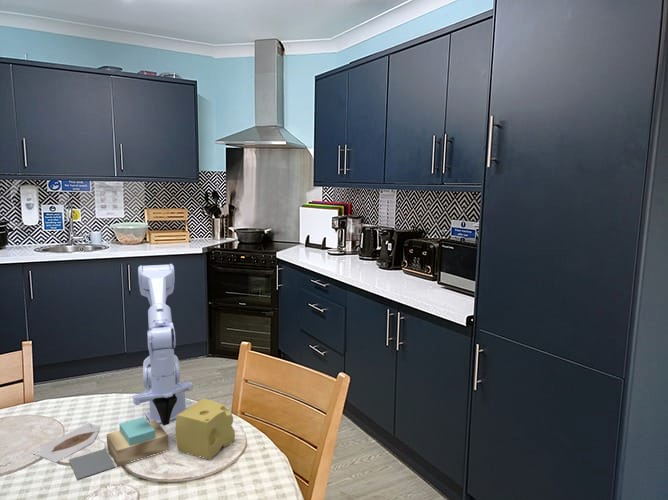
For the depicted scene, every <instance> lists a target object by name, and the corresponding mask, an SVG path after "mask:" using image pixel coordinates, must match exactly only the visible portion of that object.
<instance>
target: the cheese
mask: <svg viewBox="0 0 668 500" xmlns="http://www.w3.org/2000/svg"><path fill="white" fill-rule="evenodd" d="M175 420H176V421H175V439H176V441H175V442H176V446H177V447H176V448H177V451H178V452H180V451H181V452H180V453H183V452H184V453H183V454H186V453H189V454H188V455H190V454H193V455H192V456H194V455H197V456H196V457H198V456H201V457H204V458H206V459H205V460H208V459H209V460H211V459H212V458H213V457H215V456H216V455H215V454H218V453H219V452H220V450H221V448H226V447H228V446H229V445H230V444H231V445H232V443H233V441H235V438H236V434H235V433H236V432H235V431H236V430H235V429H234V428H233V424H234V417H233V413H232V412H230V411H229V410H228V409H227V407H226V406H225V405H224V404H223V403H220V402H218V401H217V402H216V401H215V400H211V399H207V398H201V399H199V400H198V401H196V402H195V403H194V404H193V405H191V406H189V407H188V408H186V410H184V411H183V412H181V413H179V414H177V417H176V419H175ZM201 457H200V458H201ZM211 457H212V458H211ZM204 458H203V459H204ZM210 458H211V459H210Z"/></svg>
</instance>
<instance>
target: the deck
mask: <svg viewBox="0 0 668 500" xmlns="http://www.w3.org/2000/svg"><path fill="white" fill-rule="evenodd" d="M148 423H149V424H150V425H151V426H152V427H153V429H154V430H155V438H154V439H150V440H147V441H144V442H141V443H137V444H134V445H131V446H129V444H128V443H127V441H126V440H125V438H124V437H123V435H122V434H121V432H120V429H119V430H116V431H112V432H108V433H106V444H107V445H106V446H107V447H106V448H107V449H106V450H107V452H108V454H109V455H110V457H111V459H113V460H112V461H114V464H115V466H116V467H119V468H120V467H122V466H125V465H127V464H126V463H128V464H130V463H129V462H131V461H134V460H137V459H140V460H142V459H141V458H143V459H145V458H144V457H146V458H148V457H147V456H150V455H153V454H156V455H158V454H157V453H159V454H161V453H160V452H162V453H164V452H163V451H165V452H167V451H166V450H168V449H169V450H170V448H169V447H170V446H169V445H170V444H169V434H168V433H167V431H165V429H163V427H162V426H161V425H160V424H158V423H157V422H156V420H154V421H150V420H149V421H148ZM169 450H168V451H169ZM153 456H154V455H153ZM150 457H151V456H150ZM137 461H138V460H137ZM134 462H135V461H134ZM131 463H132V462H131ZM124 464H125V465H124Z"/></svg>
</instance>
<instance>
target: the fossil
mask: <svg viewBox="0 0 668 500" xmlns="http://www.w3.org/2000/svg"><path fill="white" fill-rule="evenodd" d="M100 429H101V428H100V425H96V424H93V423H91V422H87V423H86V424H83V425H82V426H80V427H78V428H76V429H74V430H71V431H70V432H68V433H66V434H63V435H61V436H60V437H57V438H56V439H54V440H52V441H50V442H48V443H46V444H44V445H41V446H39V447H38V448H41V447H42V448H41V449H43V450H42V451H41V449H40V451H36V452H37V453H40V454H37V453H35V454H37V455H38V456H37V455H36V456H37V457H39V456H40V458H43V459H45V460H47V461H50V462H53V463H55V464H57V463H58V462H60V460H61V461H63V460H64V459H66V458H68V457H70V456H72V455H74V454H76V453H78V452H79V451H81V450H83V449H85V448H86V447H89V446H91V445H93V443H94V442H95V441H96V439H97V437H99V434H100ZM38 450H39V449H38ZM41 453H42V454H41ZM63 458H64V459H63Z"/></svg>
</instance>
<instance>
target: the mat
mask: <svg viewBox="0 0 668 500" xmlns="http://www.w3.org/2000/svg"><path fill="white" fill-rule="evenodd" d="M113 461H114V460H112V457H111V455H110V453H109V452H108V450H107V449H106V448H103V449H100V450H97V451H94V452H93V451H92V452H89V453H86V454H82V455H79V456H76V457H73V458H69V461H68V462H69V463H70V466H71V468H72V470H73V473H74V475H75V478H76V480H77V481H79V480H83V479H86V478H89V477H92V476H95V475H98V474H101V473H104V472H107V471H110V470H114V469H115V468H116V464H115V462H113Z"/></svg>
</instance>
